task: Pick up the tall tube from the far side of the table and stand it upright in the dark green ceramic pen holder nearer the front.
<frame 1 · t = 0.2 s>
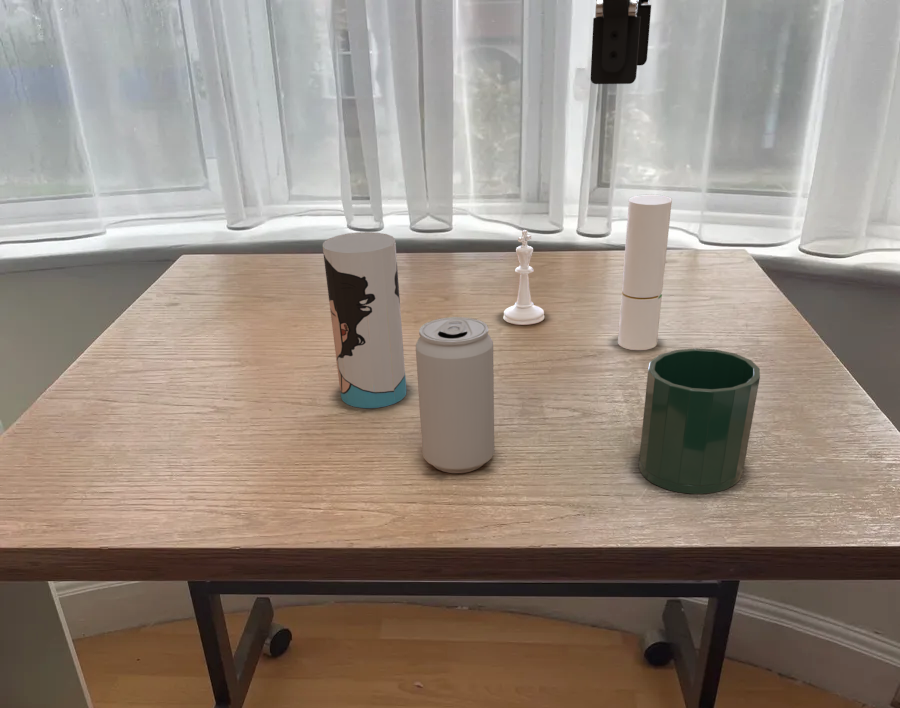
hand: (619, 73, 68), 29 cm above the table, tool pointing down, fingers open, 9 cm apart
cup: (374, 395, 92), on the table
pen holder: (690, 468, 77), on the table
chess piece: (523, 319, 108), on the table
beverage can: (458, 461, 80), on the table
tube: (637, 344, 100), on the table
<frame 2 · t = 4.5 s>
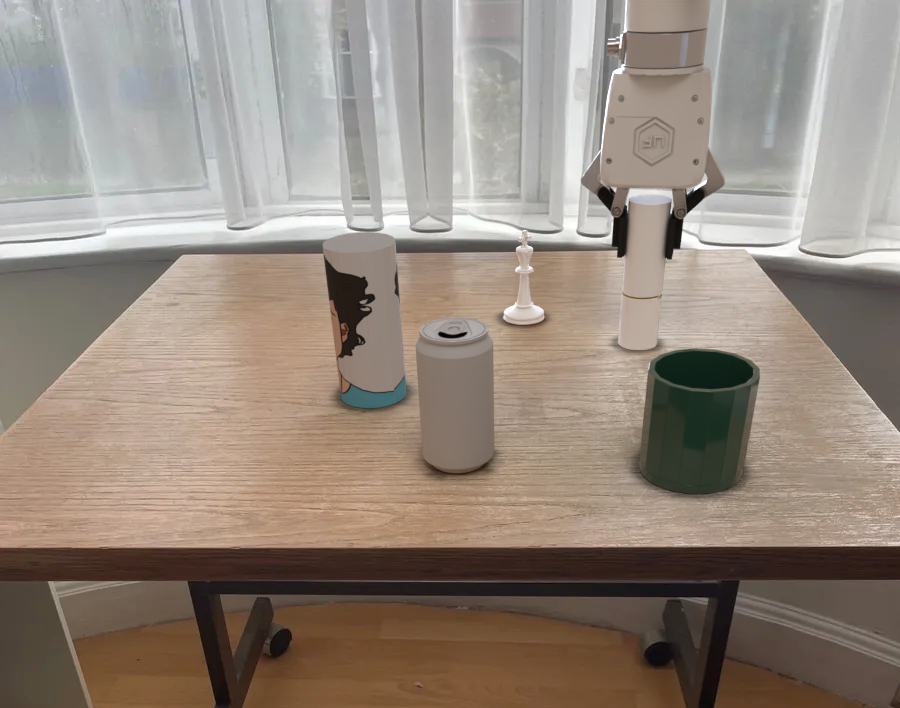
hand: (645, 253, 94), 10 cm above the table, tool pointing down, fingers closed on tube, 4 cm apart
tube: (637, 344, 100), on the table, touching gripper
everything else where it was.
when the fingers open (11 cm above the table, at t = 12.7 s): tube stays where it is, resting on pen holder.
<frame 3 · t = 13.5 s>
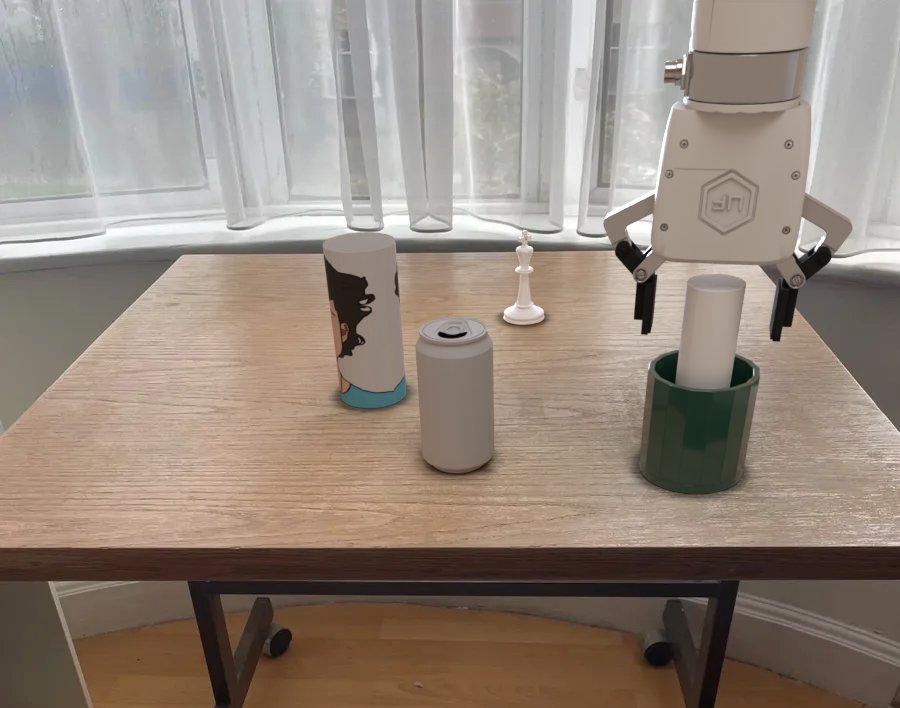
hand: (709, 331, 70), 12 cm above the table, tool pointing down, fingers open, 9 cm apart
tube: (691, 462, 77), point 1 cm above the table, touching pen holder
everything else where it was.
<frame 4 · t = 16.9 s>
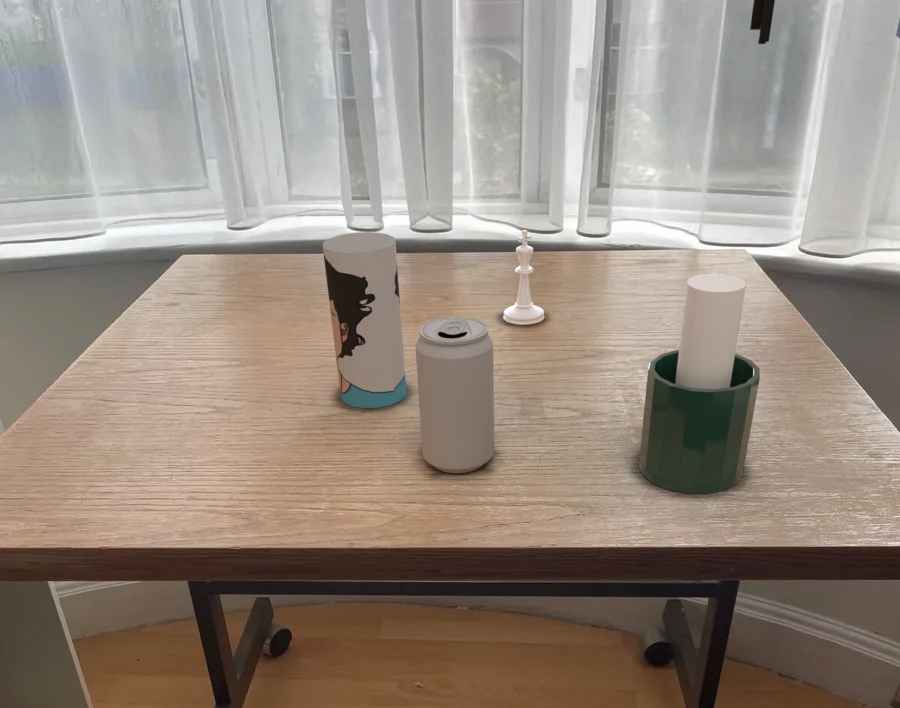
hand: (832, 40, 65), 30 cm above the table, tool pointing down, fingers open, 9 cm apart
nothing on the table moved.
at the end: tube 0.1 cm off-centre in the pen holder, point 0.6 cm above the pen holder's base; tube tilted 0°; the gripper is holding nothing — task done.
